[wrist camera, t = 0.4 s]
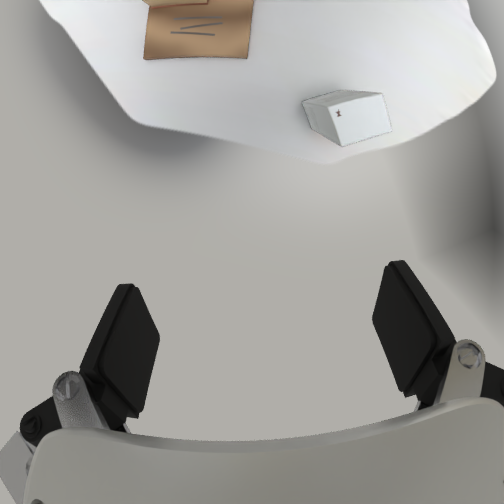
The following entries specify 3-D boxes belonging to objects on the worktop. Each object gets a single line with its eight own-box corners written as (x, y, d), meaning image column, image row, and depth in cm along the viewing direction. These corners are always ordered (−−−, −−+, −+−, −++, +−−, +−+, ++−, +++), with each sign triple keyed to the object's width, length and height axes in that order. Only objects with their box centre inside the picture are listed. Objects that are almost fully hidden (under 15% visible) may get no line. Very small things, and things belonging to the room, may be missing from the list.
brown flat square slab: (158, -20, 20) (154, -23, 19) (256, -23, 21) (256, -27, 20) (147, 60, 27) (143, 59, 26) (247, 58, 28) (247, 57, 27)
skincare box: (311, 130, 33) (339, 148, 23) (300, 101, 31) (325, 106, 21) (352, 117, 32) (394, 132, 22) (342, 89, 30) (383, 91, 20)
